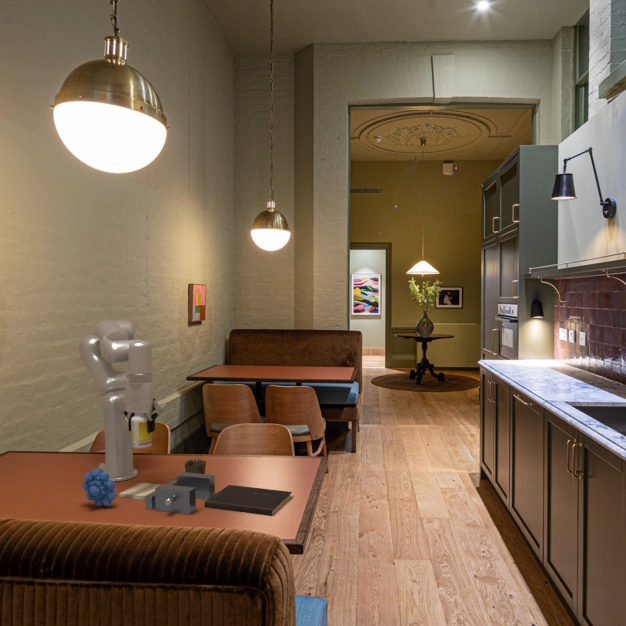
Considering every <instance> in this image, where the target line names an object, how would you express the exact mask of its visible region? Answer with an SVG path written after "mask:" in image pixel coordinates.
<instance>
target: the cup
mask: <svg viewBox="0 0 626 626" xmlns="http://www.w3.org/2000/svg"><path fill="white" fill-rule="evenodd" d="M206 467H207V460H205V459H203V460H202V459H199V458H197V459H194V460H193V459H189V460H186V462H184V468H185V469H184V470H185V471H184V472H188V473H198V474H206Z"/></svg>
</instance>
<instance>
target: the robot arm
mask: <svg viewBox="0 0 626 626" xmlns="http://www.w3.org/2000/svg"><path fill="white" fill-rule="evenodd" d="M135 331H136V330H135V325H134V324H133V322H131V321H130V320H127V319H117V320H116V319H113V320H112V319H111V320H102V321H100V322H98V323H96V325H95V326H94V329H93V333H94V334H90V335H87V336H84V337H82V338H81V339H80V340H79V342H78V354H79V357H80V359H81V362H82V363H83V366H85V368H86V369H87V370H88V372H89V373H90V374H91V376H92V378H93V381H94V383H95V386H96V388H97V391H98V392H99V394H100V395H101V396H102V398H101V402H100V405H101V412H102V418H103V425H104V447H105V449H104V452H105V454H104V456H105V462H100V464H99V465H98V467H97V469H98V470H99V471H102V472H106V473H108V475H109V480H112V481H114V482H116V481H117V482H123V481H124V482H125V481H127V480H131V479H133V478H136V476H138V473H139V472H138V470H137V469H136V468H134V455H133V454H134V453H133V449H134V447H132V435H131V418H132V417H133V416H134V415H135V413H143V414H146V415H147V417H148V419H149V421H147V432H148V433H151V432H152V433H153V432H155V430H156V419H157V418H158V417H159V416H160V414H161V413H162V411H163V409H164V408H163V407H161V405H160V404H159V403H158V402H157V391H156V386H155V383H154V381H153V365H152V363H153V362H152V361H153V359H152V358H153V357H152V344H151V343H150V342H149V341H145V340H143V339H134V338H135V334H136V332H135ZM119 363H128V369H126V370H117V369H116V368H115V366H114V364H119Z"/></svg>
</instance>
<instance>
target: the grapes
mask: <svg viewBox="0 0 626 626" xmlns="http://www.w3.org/2000/svg"><path fill="white" fill-rule="evenodd" d="M83 477H84V479H83V480H84V481H83V482H82V489H83V490H84V491H86V492H85V493H86V495H85V498H86V499H87V500H88V501H91V502H92V501H93V503H94V505H95V507H98V508H101V507H103V506H105V507H110V506H111V505H112V502H113V501H114V500H115V499H116V498H117V493H116V491H115V488H116V483H115V482H114V481H112V480H109V475H108V473H106V472H103V471H101V470H98V468H92V470H91V472H89V471H88V472H85V474H84V476H83ZM100 506H101V507H100Z"/></svg>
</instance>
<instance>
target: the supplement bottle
mask: <svg viewBox="0 0 626 626" xmlns="http://www.w3.org/2000/svg"><path fill="white" fill-rule="evenodd" d="M147 421H149V419H148V417H147V415H146V414H143V413H135V415H134V416H133V417H132V418H131V435H132V447H133V449H145V448H149V447H151V446H152V445H153V432H151V433H148V432H147Z"/></svg>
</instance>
